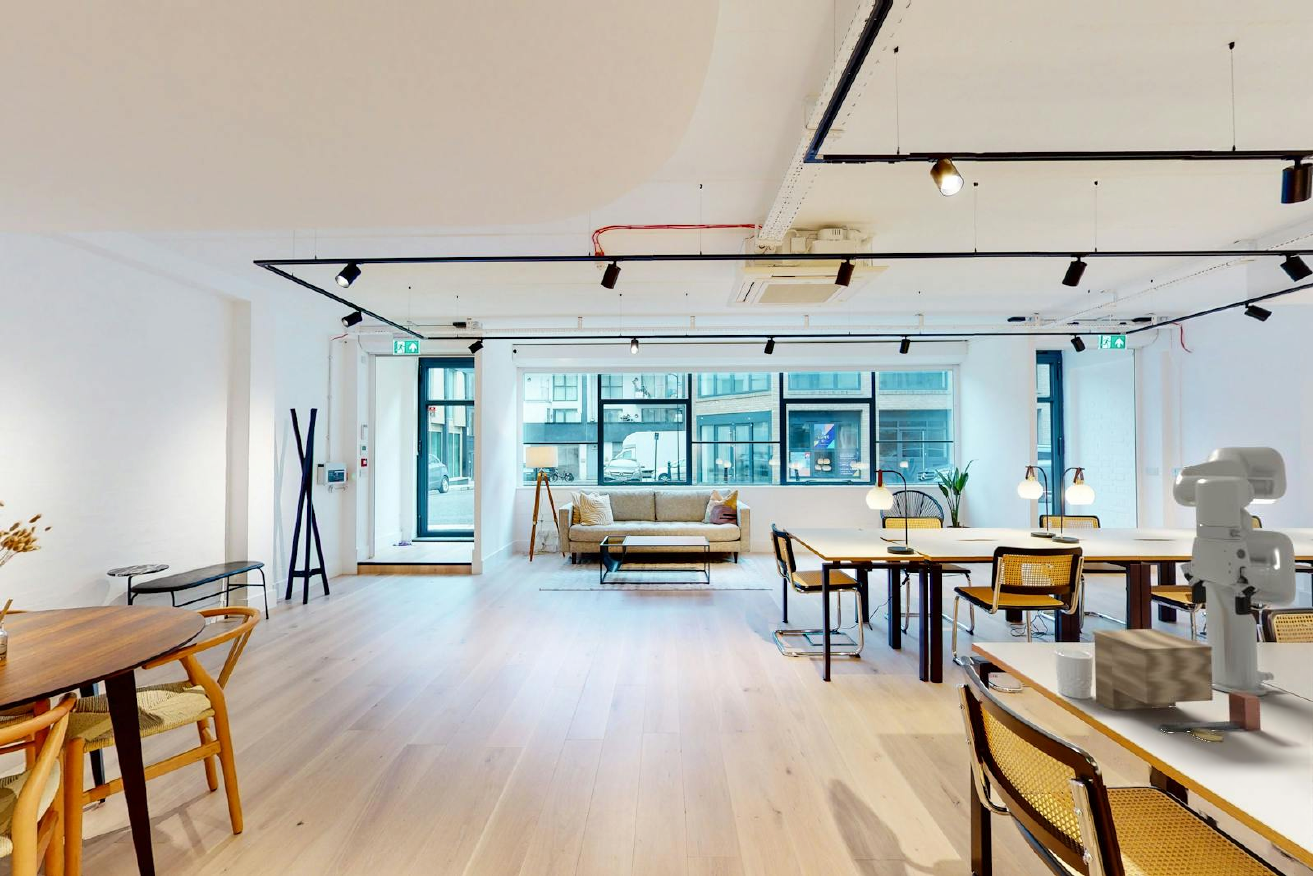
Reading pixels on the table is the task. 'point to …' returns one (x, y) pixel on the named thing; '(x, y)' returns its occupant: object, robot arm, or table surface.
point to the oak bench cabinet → (1150, 669)
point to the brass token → (1207, 734)
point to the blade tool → (1240, 715)
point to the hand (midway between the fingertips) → (1220, 608)
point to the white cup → (1074, 673)
